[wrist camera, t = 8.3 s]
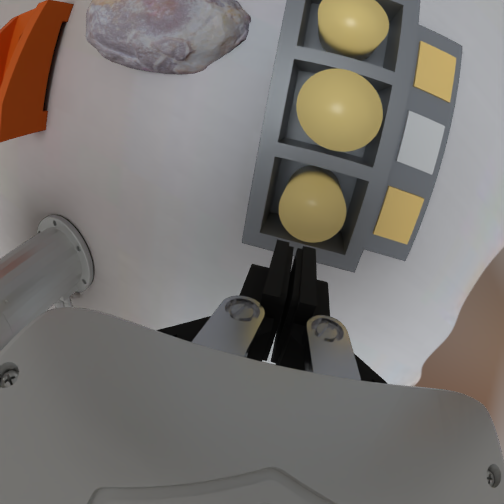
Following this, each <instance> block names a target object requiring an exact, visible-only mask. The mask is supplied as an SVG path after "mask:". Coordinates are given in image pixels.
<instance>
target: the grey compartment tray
mask: <svg viewBox="0 0 504 504" xmlns="http://www.w3.org/2000/svg"><path fill="white" fill-rule="evenodd" d="M321 1H322V0H287V2H286V7H285V12H284V17H283V22H282V27H281V32H280V37H279V42H278V47H277V52H276V57H275V62H274V68H273V73H272V78H271V83H270V88H269V94H268V99H267V104H266V110H265V115H264V120H263V126H262V131H261V137H260V142H259V148H258V153H257V159H256V164H255V170H254V175H253V181H252V187H251V192H250V198H249V204H248V209H247V215H246V221H245V226H244V232H243V238H242V243H244V244H248V245H252V246H256V247H259V248H263V249H267V250H271V251H274V250H275V246H276V242H277V239H278V240H282V241H286V242H290V243H289V246H292V247H294V249H293V256H294V257H295V255H296V251H297V248H300V249H302V248H303V246H306V247H310V248H314V249H316V262H317V263H320V264H324V265H328V266H332V267H336V268H339V269H343V270H347V271H351V272H354V273H355V270H356V268H357V265H358V263H359V260H360V257H361V255H362V252H363V250H364V247H365V244H366V242H367V239H368V236H369V233H370V231H371V228H372V225H373V222H374V219H375V216H376V213H377V210H378V207H379V204H380V201H381V198H382V195H383V192H384V188H385V185H386V182H387V179H388V175H389V172H390V168H391V165H392V161H393V158H394V154H395V150H396V146H397V142H398V138H399V134H400V130H401V126H402V122H403V117H404V113H405V108H406V103H407V98H408V93H409V88H410V82H411V77H412V71H413V64H414V57H415V50H416V42H417V34H418V23H419V11H420V0H375V1H376V2H378V3H379V4H380V5H381V7H382V8H383V9H384V11H385V12H386V14H387V17H388V20H389V30H388V33H387V36H386V37H385V38H384V40H383V41H382V42H381V43H380V44H379V45H378V47H377V48H376V49H375V50H374V51H373V53H372V54H371V55H370V56H369V57H368V58H366V59H364V60H362V61H360V60H356V59H353V58H349V57H345V56H342V55H338V54H334V53H329V52H326V51H325V50H324V48H323V47H322V45H321V43H320V41H319V35H318V8H319V5H320V3H321ZM327 69H345V70H349V71H352V72H355V73H357V74H359V75H360V76H362V77H364V78H365V79H366V80H367V81H368V82H369V83H370V84H371V85H372V86H373V87H374V89H375V90H376V92H377V93H378V95H379V98H380V100H381V104H382V109H383V118H382V123H381V127H380V129H379V131H378V133H377V134H376V136H375V137H374V138H373V140H372V141H370V142H369V143H368V144H367V145H365V146H364V147H362V148H359V149H357V150H353V151H347V152H340V151H333V150H329V149H326V148H324V147H322V146H320V145H319V144H317V143H315V142H314V141H313V140H312V139H311V138H310V137H309V136H308V135H307V134H306V133H305V131H304V130H303V128H302V126H301V124H300V122H299V119H298V116H297V110H296V104H297V98H298V94H299V92H300V89H301V88H302V86H303V84H304V83H305V82H306V81H307V80H308V79H309V78H310V77H311V76H313V75H314V74H316V73H318V72H320V71H323V70H327ZM311 165H313V166H317V167H320V168H324V169H328V170H329V171H331V172H332V173H333V174H334V175H335V176H336V178H337V179H338V181H339V184H340V187H341V190H342V193H343V197H344V200H345V204H346V218H345V222H344V224H343V226H342V228H341V229H340V230H339V232H338V233H337V234H336V235H334V236H333V237H331V238H330V239H328V240H325V241H322V242H315V243H312V242H305V241H301V240H299V239H297V238H295V237H293V236H292V235H291V234H290V233H289V232H288V231H287V230H286V229H285V228H284V226H283V224H282V223H281V220H280V217H279V202H280V199H281V196H282V194H283V192H284V190H285V188H286V186H287V184H288V181H289V179H290V178H291V176H292V175H293V174H294V173H295V172H296V171H297V170H299V169H300V168H302V167H305V166H311Z"/></svg>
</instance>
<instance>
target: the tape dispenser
mask: <svg viewBox="0 0 504 504" xmlns="http://www.w3.org/2000/svg"><path fill="white" fill-rule="evenodd" d="M72 7H73V4H69V3H64V2H59V1H53V0H46V1H44V2H41V3H39V4H38V5H37V7H36V8H35V9H33V10H30V11H28V12H25V13H23V14H21V15H19V16H16V17H14V18H12V19H11V20H10V21H9V22H8V23H7V24H6V25H5V26H4V27H3V28H2V29H1V30H0V142H3V141H6V140H9V139H13V138H16V137H20V136H23V135H27V134H31V133H35V132H39V131H43V130H46V122H47V113H48V111H45V110H43V106H44V98H45V92H46V86H47V80H48V75H49V70H50V65H51V61H52V57H53V52H54V48H55V45H56V41H57V37H58V34H59V31H60V27H61V24H62V23H64V22H68V19H69V16H70V13H71V10H72Z"/></svg>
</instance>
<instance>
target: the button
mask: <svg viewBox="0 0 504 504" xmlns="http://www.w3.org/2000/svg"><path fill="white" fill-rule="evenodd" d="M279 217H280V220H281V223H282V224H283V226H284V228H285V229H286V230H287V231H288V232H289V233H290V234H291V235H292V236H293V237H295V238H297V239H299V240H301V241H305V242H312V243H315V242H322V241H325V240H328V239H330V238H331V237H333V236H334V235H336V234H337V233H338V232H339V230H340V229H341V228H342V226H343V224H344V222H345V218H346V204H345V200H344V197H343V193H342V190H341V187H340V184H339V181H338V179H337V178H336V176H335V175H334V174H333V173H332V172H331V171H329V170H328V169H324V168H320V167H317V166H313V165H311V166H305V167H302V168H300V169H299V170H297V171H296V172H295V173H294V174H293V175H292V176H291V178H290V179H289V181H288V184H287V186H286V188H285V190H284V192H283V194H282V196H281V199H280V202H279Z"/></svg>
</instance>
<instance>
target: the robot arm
mask: <svg viewBox="0 0 504 504" xmlns="http://www.w3.org/2000/svg"><path fill="white" fill-rule="evenodd" d="M289 243H290V242H286V241H282V240H278V239H277V242H276V246H275V250H274V253H273V257H272V261H271V264H270V268H267V267H263V266H259V265H255V264H252V265H251V267H250V270H249V273H248V275H247V278H246V280H245V283H244V285H243V288H242V290H241V293H240V295H239V296H231V297H229V298H226V299H225V300H224V301H223V302H222V303H221V304H220V305H219V307H218V308H217V309H216V311H215V312H214V313H213V315H212V316H209V317H206V318H202V319H198V320H195V321H191V322H187V323H183V324H179V325H176V326H172V327H168V328H164V329H160V330H157V331H156V330H153V329H150V328H148V327H145V326H142V325H139V324H136V323H133V322H130V321H127V320H124V319H122V318H119V317H116V316H113V315H110V314H106V313H103V312H99V311H95V310H90V309H85V308H73V305H72V302H71V299H70V296H71V295H72V294H73V293H74V292H78V293H79V292H83V291H84V290H86V289H87V288H88V287H89V286H90V284H91V282H92V280H93V264H92V259H91V256H90V253H89V250H88V248H87V246H86V244H85V242H84V240H83V238H82V237H81V235H80V234H79V232H78V231H77V230H76V228H75V227H74V226H73V225H72V224H71V223H70V222H69V221H67V220H66V219H64V218H63V217H61V216H58V215H50V216H48V217H46V218H44V219H43V220H42V221H41V222H40V224H39V226H38V230H37V235H36V236H34V237H32V238H31V239H29V240H28V241H26V242H24V243H23V244H21V245H20V246H18V247H17V248H15V249H14V250H12V251H11V252H9V253H8V254H6V255H5V256H4V257H2V258H1V259H0V504H504V460H503V456H502V451H501V447H500V443H499V439H498V436H497V433H496V429H495V426H494V424H493V421H492V419H491V417H490V414H489V412H488V411H487V409H486V408H485V406H484V405H483V404H481V403H480V402H478V401H477V400H475V399H474V398H471V397H469V396H467V395H465V394H461V393H458V392H454V391H449V390H443V389H434V388H424V387H414V386H403V385H393V384H387V383H386V382H385V381H384V380H383V379H382V378H381V377H380V376H379V375H378V374H376V373H375V372H374V371H373V370H372V369H371V368H370V367H369V366H368V365H366V364H365V363H364V362H363V361H362V360H361V359H360V358H359V357H357V356H356V355H355V354H354V352H353V349H352V345H351V342H350V338H349V335H348V332H347V330H346V328H345V326H344V325H343V324H342V323H341V322H340V321H338V320H337V319H335V318H332V317H330V309H329V293H328V283H327V282H324V281H320V280H317V278H316V249H314V248H310V247H306V246H303V248H302V249H300V248H297V251H296V255H295V258H294V262H293V265H292V269H291V264H292V257H293V249H294V247H292V246H289ZM290 271H291V272H290ZM53 304H55V307H56V308H55V309H51V310H48V309H49V308H50V307H51V306H52V305H53ZM47 310H48V311H47ZM275 334H276V337H275ZM274 337H275V342H274V348H273V353H272V358H271V362H273V363H276V365H274V364H270V363H265V362H262V360H265V361H267V358H268V355H269V352H270V349H271V346H272V343H273V340H274Z"/></svg>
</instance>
